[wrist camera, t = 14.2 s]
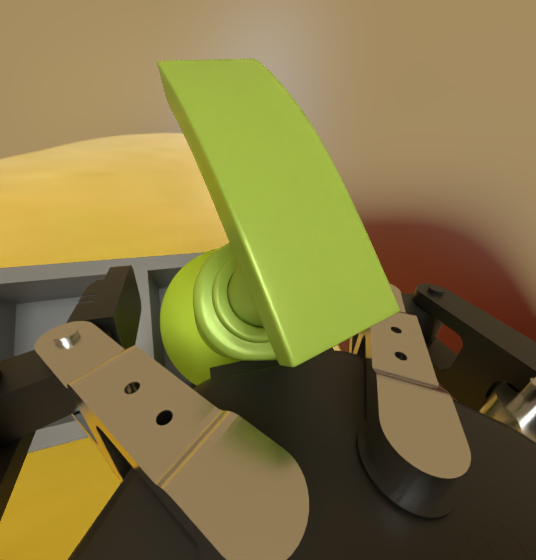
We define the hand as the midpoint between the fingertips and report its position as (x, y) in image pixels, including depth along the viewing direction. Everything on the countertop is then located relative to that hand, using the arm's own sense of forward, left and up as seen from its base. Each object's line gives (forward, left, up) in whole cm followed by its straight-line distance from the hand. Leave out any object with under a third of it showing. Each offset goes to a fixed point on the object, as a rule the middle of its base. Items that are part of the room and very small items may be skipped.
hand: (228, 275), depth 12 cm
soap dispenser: (0, -2, -12) cm, 12 cm away
